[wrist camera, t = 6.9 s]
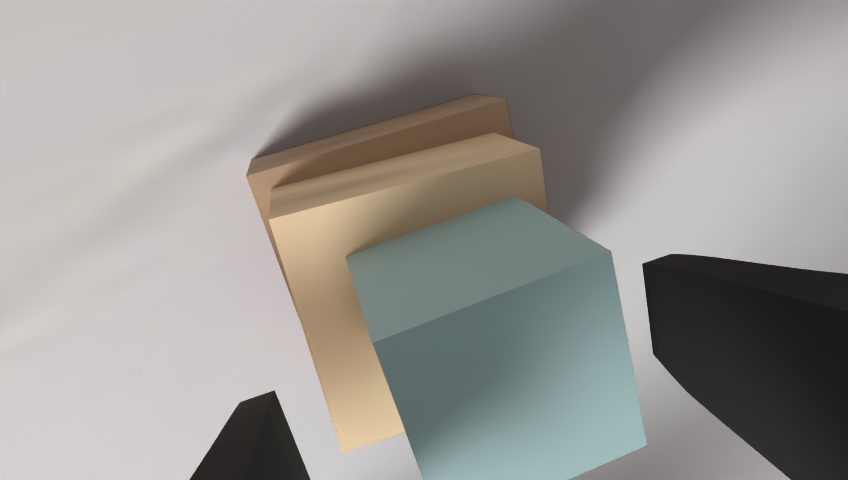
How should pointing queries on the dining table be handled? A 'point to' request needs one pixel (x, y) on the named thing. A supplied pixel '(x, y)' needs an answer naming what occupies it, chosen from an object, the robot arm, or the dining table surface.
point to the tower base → (376, 146)
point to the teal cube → (502, 345)
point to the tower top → (370, 226)
